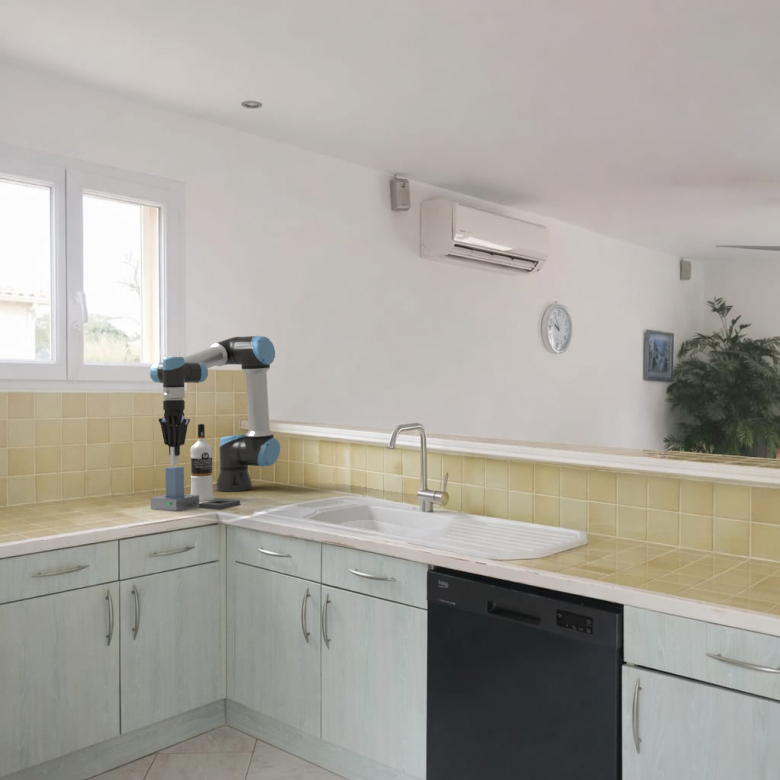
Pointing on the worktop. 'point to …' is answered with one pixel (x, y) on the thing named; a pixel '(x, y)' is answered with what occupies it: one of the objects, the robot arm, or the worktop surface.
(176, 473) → the plug
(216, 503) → the dark grey flat frame
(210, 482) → the vodka
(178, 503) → the block
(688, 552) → the worktop surface
